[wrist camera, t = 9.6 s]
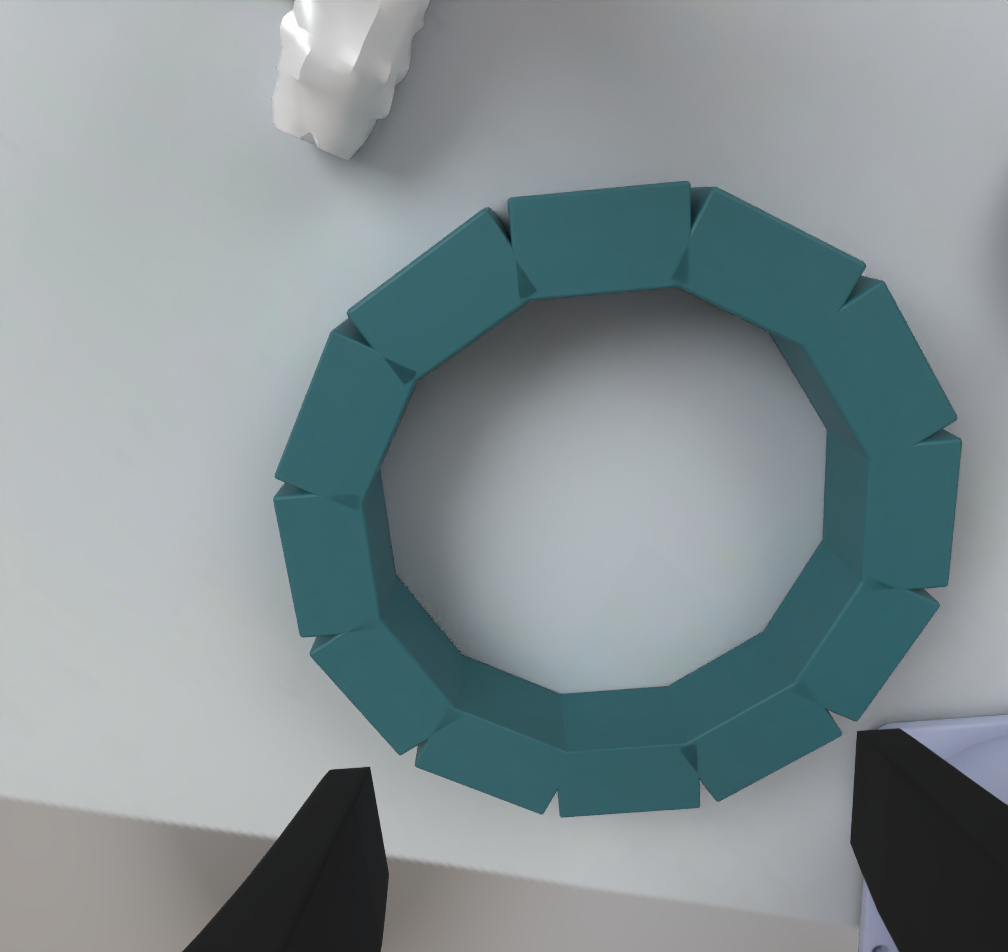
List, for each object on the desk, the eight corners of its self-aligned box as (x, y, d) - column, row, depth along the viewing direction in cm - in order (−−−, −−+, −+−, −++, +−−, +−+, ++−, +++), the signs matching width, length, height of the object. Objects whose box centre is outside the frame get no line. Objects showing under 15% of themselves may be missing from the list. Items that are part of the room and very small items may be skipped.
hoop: (885, 729, 23) (929, 792, 20) (355, 768, 23) (337, 834, 21) (928, 157, 18) (992, 151, 15) (255, 222, 18) (217, 226, 16)
